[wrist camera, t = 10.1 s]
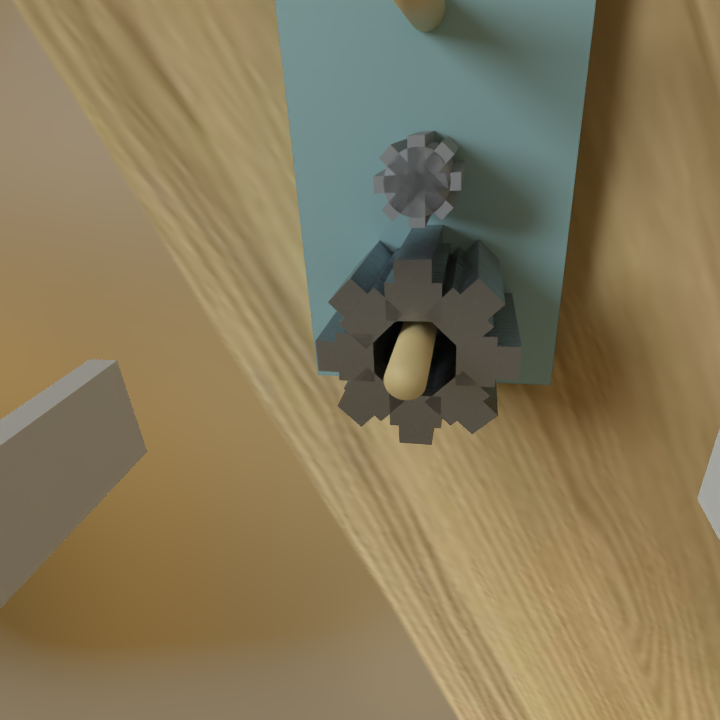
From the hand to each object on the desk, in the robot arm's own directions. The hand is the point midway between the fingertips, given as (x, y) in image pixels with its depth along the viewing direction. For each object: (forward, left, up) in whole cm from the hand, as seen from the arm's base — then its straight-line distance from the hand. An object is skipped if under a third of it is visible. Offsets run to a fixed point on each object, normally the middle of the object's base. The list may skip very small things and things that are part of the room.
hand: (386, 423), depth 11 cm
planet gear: (+1, 0, -10) cm, 10 cm away
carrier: (-4, 0, -11) cm, 12 cm away
